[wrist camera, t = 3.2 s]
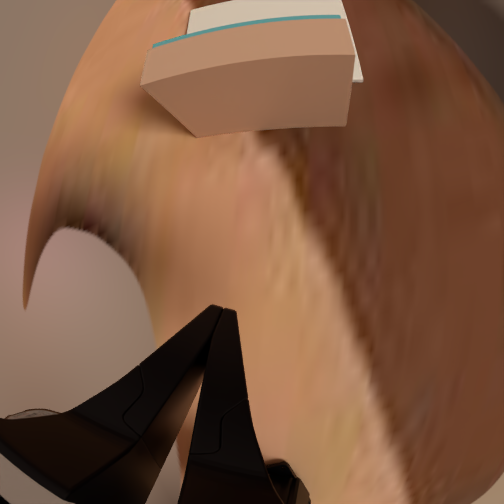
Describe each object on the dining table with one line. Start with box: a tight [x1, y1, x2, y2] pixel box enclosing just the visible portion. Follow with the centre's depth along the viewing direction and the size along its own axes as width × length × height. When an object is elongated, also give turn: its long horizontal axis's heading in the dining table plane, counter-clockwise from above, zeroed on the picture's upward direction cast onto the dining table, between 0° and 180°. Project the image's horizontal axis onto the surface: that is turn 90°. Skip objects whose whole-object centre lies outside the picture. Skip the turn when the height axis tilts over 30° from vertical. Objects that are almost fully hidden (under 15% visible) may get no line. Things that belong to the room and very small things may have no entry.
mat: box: [187, 0, 363, 82], centre depth 22 cm, size 13×16×1 cm
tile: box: [140, 15, 355, 138], centre depth 17 cm, size 4×12×9 cm, turn 91°
